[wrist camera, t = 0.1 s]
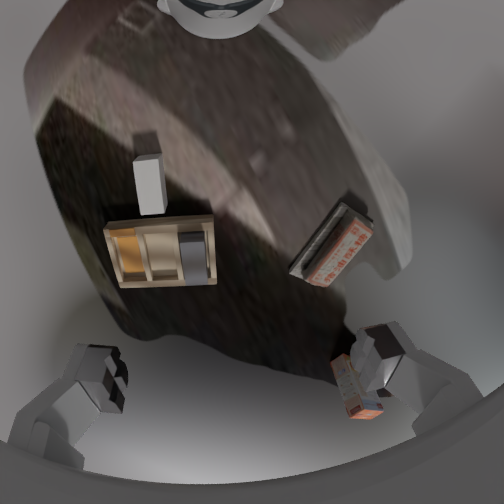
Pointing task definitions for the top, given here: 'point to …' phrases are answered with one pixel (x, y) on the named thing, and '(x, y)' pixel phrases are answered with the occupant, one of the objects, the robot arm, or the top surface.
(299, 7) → the top surface
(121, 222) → the rack
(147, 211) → the white rectangular block
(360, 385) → the cracker box
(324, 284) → the packaged product
